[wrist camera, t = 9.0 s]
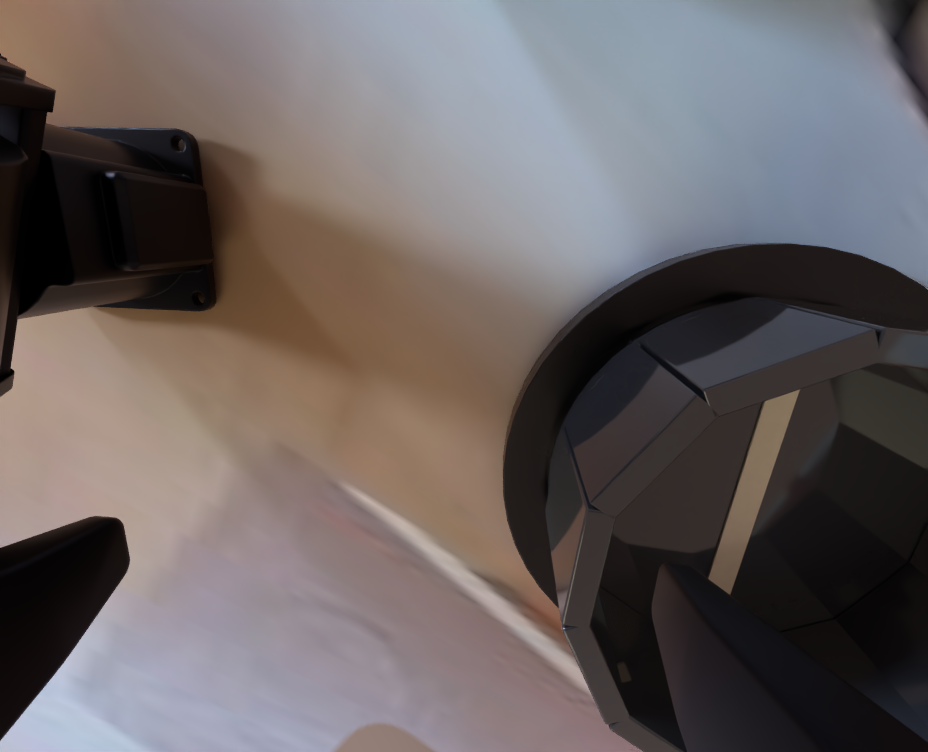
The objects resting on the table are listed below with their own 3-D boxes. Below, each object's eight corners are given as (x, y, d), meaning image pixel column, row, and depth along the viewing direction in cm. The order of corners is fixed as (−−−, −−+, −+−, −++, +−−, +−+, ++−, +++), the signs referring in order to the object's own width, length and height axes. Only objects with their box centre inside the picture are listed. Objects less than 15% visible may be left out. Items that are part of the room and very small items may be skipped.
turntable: (493, 628, 23) (492, 649, 21) (516, 235, 17) (517, 235, 16) (892, 664, 21) (914, 688, 20) (1044, 251, 16) (1086, 252, 15)
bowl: (837, 713, 21) (976, 911, 15) (513, 660, 22) (516, 829, 15) (1016, 326, 16) (1341, 383, 10) (584, 273, 16) (632, 296, 10)
